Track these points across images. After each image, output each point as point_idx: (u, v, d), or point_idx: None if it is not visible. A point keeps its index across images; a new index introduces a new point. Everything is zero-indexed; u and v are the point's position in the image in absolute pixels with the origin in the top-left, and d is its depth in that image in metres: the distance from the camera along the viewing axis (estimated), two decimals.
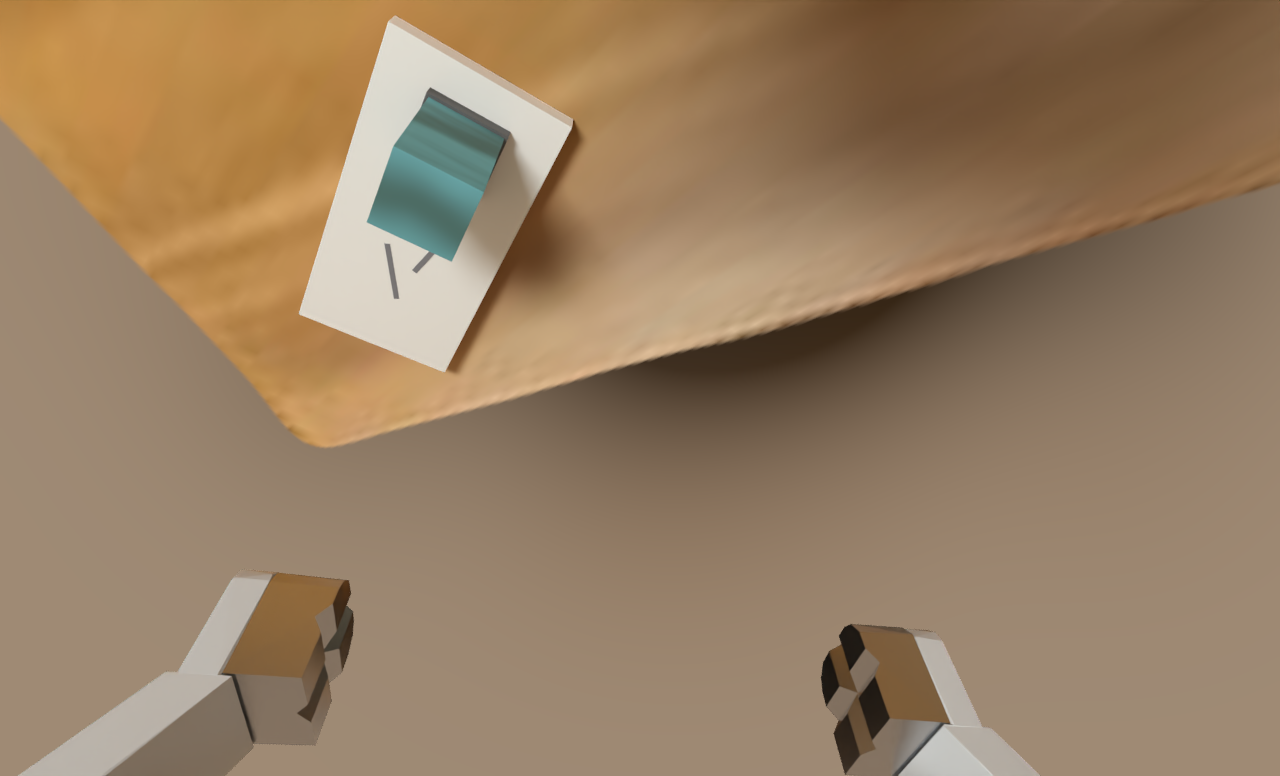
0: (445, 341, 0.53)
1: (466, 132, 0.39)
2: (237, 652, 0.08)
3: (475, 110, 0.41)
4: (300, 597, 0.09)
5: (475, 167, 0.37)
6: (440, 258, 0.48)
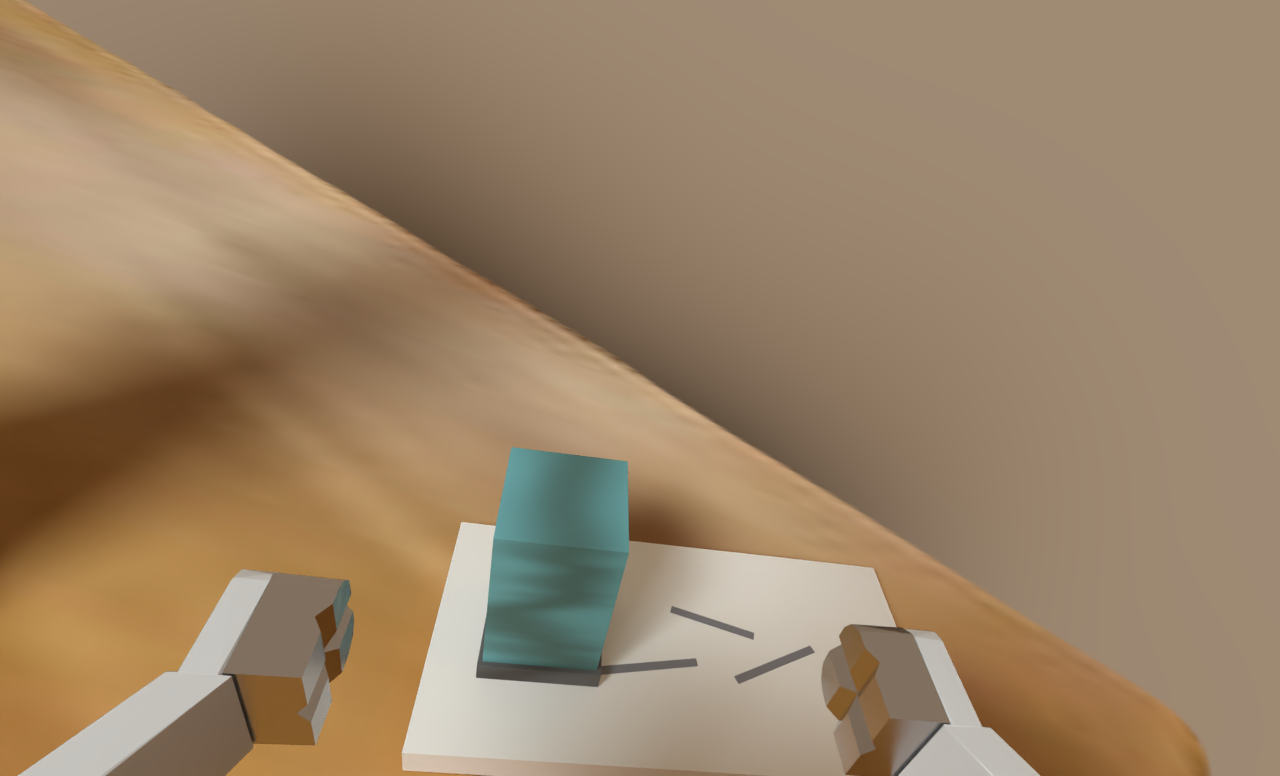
0: (827, 577, 0.37)
1: None
2: (237, 652, 0.08)
3: (484, 619, 0.31)
4: (300, 597, 0.09)
5: None
6: (711, 610, 0.34)
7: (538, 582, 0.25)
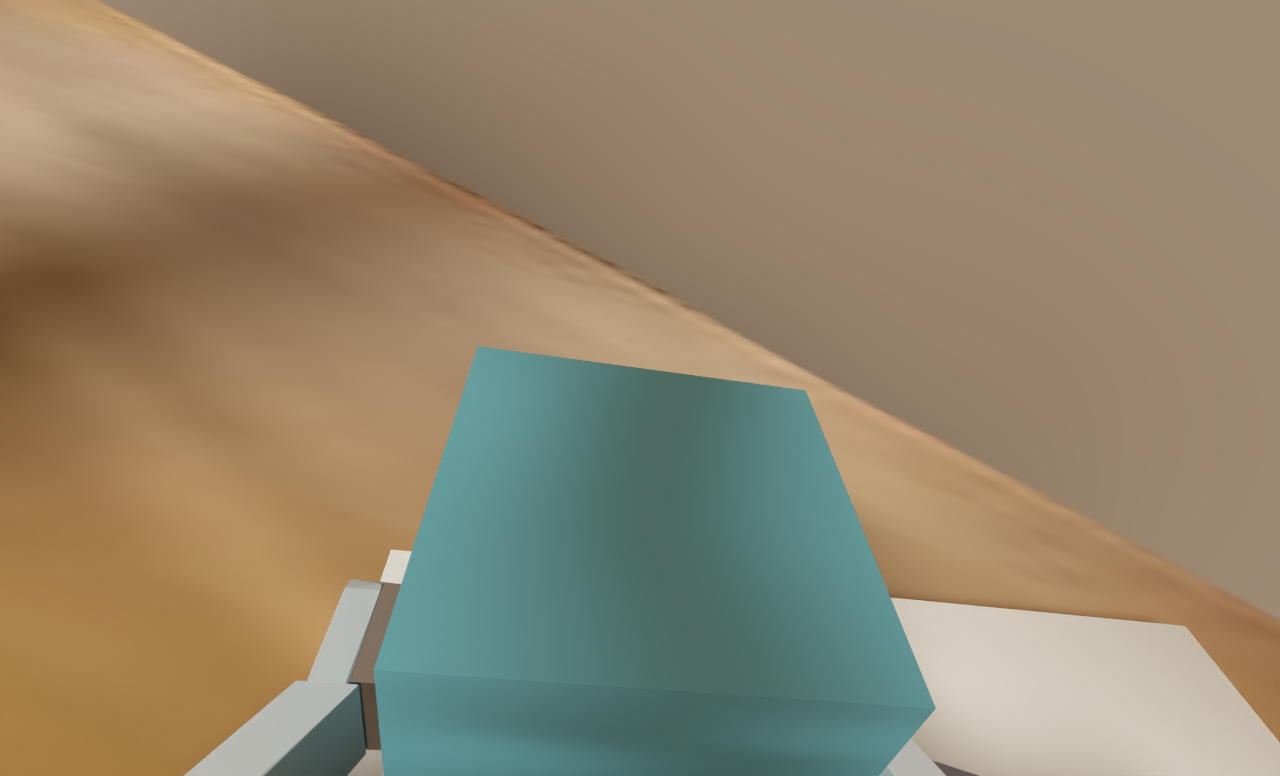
0: (1115, 649, 0.19)
1: None
2: (360, 661, 0.08)
3: None
4: None
5: None
6: (927, 738, 0.16)
7: None
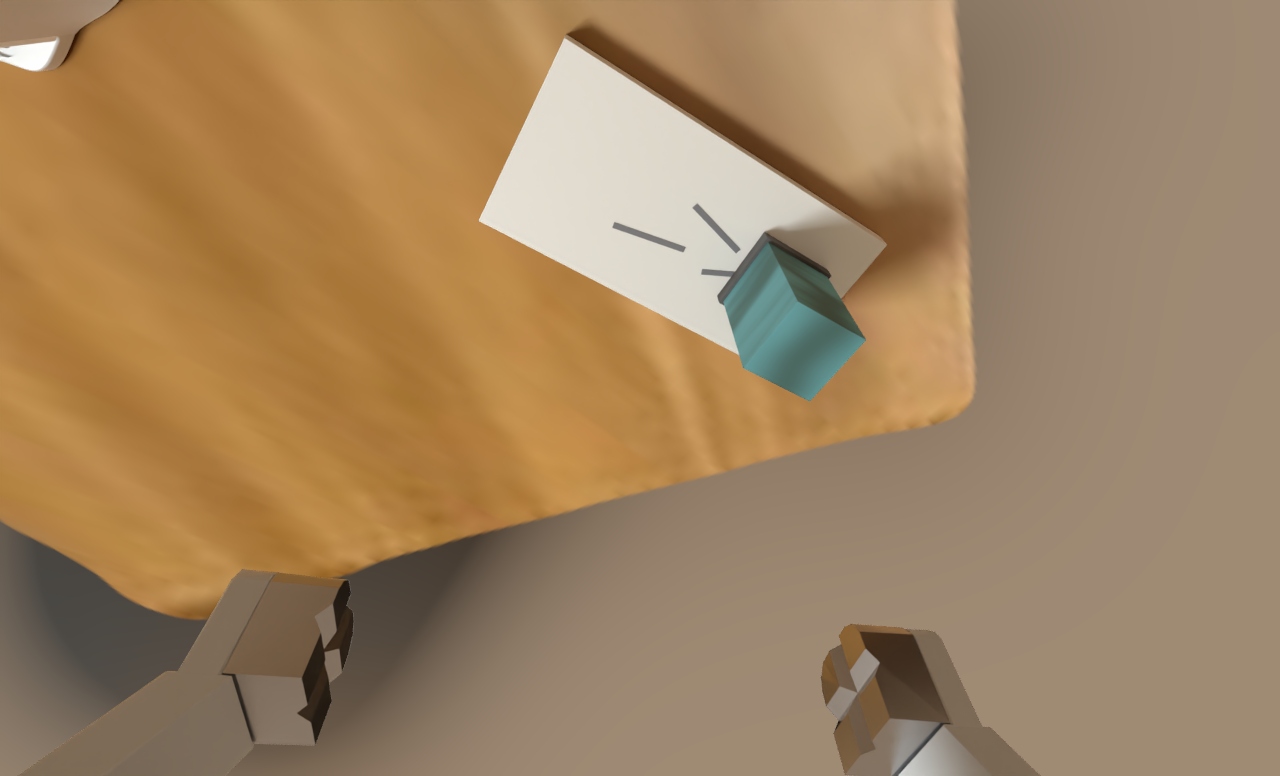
0: (839, 235, 0.43)
1: (753, 282, 0.41)
2: (237, 652, 0.08)
3: (553, 151, 0.39)
4: (300, 597, 0.09)
5: (778, 295, 0.37)
6: (724, 219, 0.42)
7: None
